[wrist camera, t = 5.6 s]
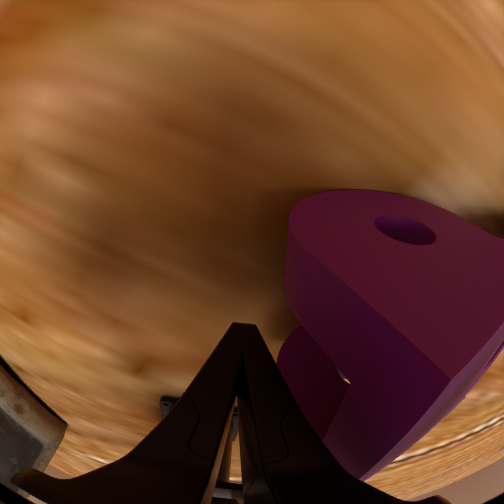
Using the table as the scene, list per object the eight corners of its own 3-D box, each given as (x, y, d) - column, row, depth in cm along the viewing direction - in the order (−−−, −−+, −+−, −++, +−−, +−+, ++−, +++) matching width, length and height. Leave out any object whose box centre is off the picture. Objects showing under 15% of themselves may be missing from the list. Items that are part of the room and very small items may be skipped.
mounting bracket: (470, 179, 17) (247, 200, 10) (561, 228, 10) (452, 377, 4) (439, 284, 21) (247, 370, 15) (509, 339, 15) (330, 501, 8)
